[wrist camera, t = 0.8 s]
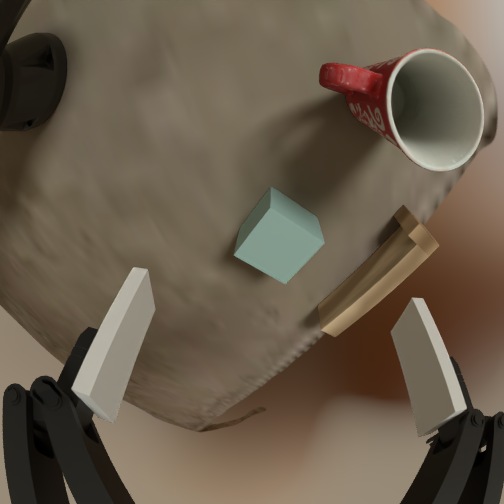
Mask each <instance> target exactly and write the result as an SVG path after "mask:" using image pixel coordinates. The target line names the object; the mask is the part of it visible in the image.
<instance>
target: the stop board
mask: <svg viewBox="0 0 504 504" xmlns="http://www.w3.org/2000/svg"><path fill="white" fill-rule="evenodd" d="M394 217H395V218H396V220H397V221H398V222H399V224H400V225H401V226H400V227H399V228H398V229H397V230H396V231H395V232H394V233H393V234H392V235H391V236H390V237H389V238H388V239H387V240H386V241H385V242H384V243H383V244H382V245H381V246H380V247H379V248H378V249H377V250H376V251H375V252H374V253H373V254H372V255H371V256H370V257H369V258H368V259H367V260H366V261H365V262H364V263H363V264H362V265H361V266H360V267H359V268H358V269H357V270H356V271H355V272H354V273H353V274H352V275H351V276H350V277H349V278H347V279H346V280H345V281H344V282H343V283H342V284H341V285H340V286H339V287H338V288H337V289H336V290H334V291H333V292H332V293H331V294H330V295H329V296H328V297H327V298H326V299H324V300H323V301H322V302H321V303H320V304H319V305H318V313H319V320H320V328H321V330H322V331H324V332H326V333H328V334H330V335H332V336H334V337H336V336H337V335H338V334H340V333H341V332H342V331H344V330H345V329H346V328H347V327H349V326H350V325H351V324H353V323H354V322H355V321H356V320H358V319H359V318H360V317H361V316H363V315H364V314H365V313H366V312H368V311H369V310H370V309H371V308H372V307H374V306H375V305H376V304H377V303H378V302H380V300H382V299H383V298H384V297H385V296H387V295H388V294H389V293H390V292H391V291H392V290H393V289H395V287H397V286H398V285H399V284H400V283H401V282H402V281H403V280H404V279H406V278H407V277H408V276H409V275H410V274H411V273H412V272H413V271H414V270H415V269H416V268H417V267H418V266H419V265H420V264H421V263H422V262H423V261H424V260H425V259H426V258H427V257H429V255H431V253H432V252H433V251H434V250H435V249H436V248H437V247H438V246H439V244H438V243H437V242H436V241H435V239H434V238H433V237H432V235H431V234H430V233H429V232H428V231H427V229H426V228H425V227H424V226H423V225H422V224H421V222H420V221H419V220H418V219H417V218H416V217H415V216H414V215H413V214H412V213H411V212H410V211H409V210H408V209H407V208H406V207H405V206H404V205H403V206H402V207H401V208H400V209H399V210H398V211H397V212H396V213H395V215H394Z"/></svg>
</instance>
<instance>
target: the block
mask: <svg viewBox="0 0 504 504" xmlns="http://www.w3.org/2000/svg"><path fill="white" fill-rule="evenodd" d="M324 243H325V242H324V239H323V235H322V232H321V228H320V225H319V221H318V218H317V217H316V216H315V215H313V214H312V213H310V212H309V211H307V210H306V209H304V208H303V207H302V206H300V205H299V204H297V203H296V202H294V201H293V200H291V199H290V198H288V197H287V196H285V195H284V194H282V193H281V192H279V191H278V190H276V189H275V188H273V187H270V188H269V190H268V191H267V192H266V194H265V195H264V196H263V198H262V199H261V200H260V202H259V203H258V204H257V206H256V207H255V208H254V210H253V211H252V212H251V214H250V215H249V217H248V218H247V219H246V221H245V222H244V223H243V225H242V226H241V227H240V229H239V233H238V238H237V242H236V247H235V251H234V256H236V257H237V258H239V259H241V260H243V261H244V262H246V263H248V264H250V265H252V266H253V267H255V268H257V269H259V270H261V271H262V272H264V273H266V274H268V275H269V276H271V277H273V278H275V279H277V280H278V281H280V282H282V283H284V284H286V283H287V282H288V281H289V280H290V279H291V278H292V277H293V276H294V275H295V274H296V272H297V271H298V270H299V269H300V268H301V267H302V266H303V265H304V264H305V263H306V262H307V261H308V260H309V259H310V258H311V257H312V256H313V255H314V254H315V253H316V252H317V251H318V250H319V248H320V247H321V246H322V245H323V244H324Z"/></svg>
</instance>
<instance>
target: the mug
mask: <svg viewBox="0 0 504 504" xmlns="http://www.w3.org/2000/svg"><path fill="white" fill-rule="evenodd" d="M319 83H320V85H321V86H323V87H325V88H327V89H330V90H333V91H336V92H339V93H343V94H346V101H347V104H348V107H349V109H350V111H351V112H352V114H353V115H354V116H355V117H356V118H357V119H358V120H359V121H360V122H362V123H363V124H364V125H366V126H367V127H369V128H371V129H372V130H374V131H375V132H377V133H378V134H380V135H381V136H383V137H384V138H386V139H387V140H388V141H390V142H391V143H393V144H394V145H395V146H397V147H398V148H400V149H401V150H402V152H403V153H404V154H405V155H406V156H407V157H408V158H409V159H410V160H411V161H413V162H414V163H415V164H417V165H418V166H420V167H422V168H424V169H427V170H430V171H436V172H444V171H450V170H453V169H456V168H458V167H459V166H461V165H462V164H464V163H465V162H466V161H467V160H468V159H469V158H470V157H471V156H472V154H473V153H474V151H475V150H476V148H477V146H478V144H479V142H480V139H481V136H482V132H483V125H484V109H483V103H482V98H481V95H480V92H479V89H478V87H477V85H476V83H475V81H474V79H473V77H472V76H471V74H470V73H469V71H468V70H467V69H466V68H465V67H464V66H463V65H462V64H461V63H460V62H459V61H458V60H457V59H455V58H454V57H453V56H451V55H449V54H447V53H445V52H443V51H441V50H437V49H433V48H421V49H416V50H413V51H411V52H409V53H407V54H406V55H404V56H401V57H397V58H394V59H390V60H387V61H384V62H380V63H377V64H374V65H371V66H367V67H364V68H360V67H356V66H351V65H346V64H338V63H326V64H323V65H322V67H321V69H320V74H319Z"/></svg>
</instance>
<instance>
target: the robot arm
mask: <svg viewBox="0 0 504 504" xmlns="http://www.w3.org/2000/svg"><path fill="white" fill-rule="evenodd" d="M30 2H31V0H0V131H26V130H29V129H32V128H34V127H37V126H39V125H41V124H42V123H44V122H45V121H46V120H47V119H48V118H49V117H50V116H51V114H52V113H53V111H54V110H55V108H56V106H57V105H58V102H59V100H60V98H61V95H62V92H63V89H64V85H65V80H66V73H67V59H66V53H65V49H64V46H63V44H62V42H61V41H60V39H59V38H58V37H56V36H55V35H53V34H51V33H33V34H29V35H27V36H24V37H22V38H20V39H18V40H15V41H13V42H11V43H9V44H7V42H8V40H9V38H10V36H11V34H12V33H13V31H14V29H15V27H16V25H17V23H18V21H19V20H20V18H21V16H22V14H23V13H24V11H25V9H26V8H27V6H28V5H29V3H30ZM154 312H155V305H154V300H153V295H152V290H151V284H150V279H149V273H148V269H142V268H136V267H133V269H132V270H131V272H130V274H129V275H128V277H127V279H126V281H125V282H124V284H123V286H122V288H121V289H120V291H119V293H118V295H117V296H116V298H115V300H114V302H113V304H112V306H111V307H110V309H109V311H108V313H107V315H106V317H105V319H104V321H103V322H102V324H101V326H100V328H99V330H98V329H94V328H91V327H88V328H87V329H86V330H85V331H84V332H83V333H82V334H81V335H80V336H79V338H78V340H77V342H76V344H75V347H74V348H73V350H72V352H71V355H70V356H69V358H68V360H67V362H66V364H65V366H64V368H63V370H62V372H61V374H60V377H59V379H58V381H57V382H56V381H55V380H54V379H53V378H52V377H49V376H40V377H39V378H37V379H35V381H34V382H33V383H32V385H31V388H30V391H28V390H25V389H24V388H23V387H22V386H21V385H19V384H11V385H10V386H8V387H7V389H6V390H5V392H4V396H3V448H4V459H5V469H6V476H7V482H8V489H9V494H10V499H11V503H12V504H70V503H69V500H68V496H67V492H66V487H65V483H64V478H63V475H64V477H65V479H66V482H67V484H68V486H69V488H70V491H71V493H72V495H73V497H74V499H75V501H76V503H77V504H135V502H134V501H133V499H132V498H131V496H130V494H129V493H128V491H127V489H126V488H125V486H124V484H123V482H122V481H121V479H120V477H119V475H118V473H117V471H116V470H115V468H114V466H113V464H112V462H111V460H110V458H109V456H108V454H107V452H106V449H105V447H104V445H103V443H102V441H101V439H100V436H99V434H98V432H97V429H96V427H95V424H94V422H93V420H92V417H93V414H95V415H96V416H97V417H98V418H101V419H103V420H106V421H109V422H112V423H115V420H116V417H117V414H118V411H119V407H120V404H121V401H122V399H123V396H124V393H125V390H126V387H127V384H128V381H129V378H130V375H131V372H132V369H133V367H134V364H135V361H136V358H137V356H138V353H139V350H140V348H141V345H142V342H143V340H144V337H145V334H146V332H147V329H148V327H149V324H150V322H151V319H152V317H153V314H154ZM391 335H392V338H393V341H394V344H395V347H396V350H397V354H398V357H399V360H400V364H401V367H402V371H403V374H404V378H405V381H406V385H407V389H408V393H409V397H410V401H411V405H412V409H413V414H414V418H415V423H416V428H417V433H418V437H421V436H425V435H428V434H431V433H432V432H434V431H436V430H437V429H438V431H439V433H437V434H436V435H434V436H433V437H431V438H430V439H428V440H427V442H426V443H429V442H431V441H433V442H432V443H430V446H431V447H430V449H429V451H428V454H427V456H426V458H425V460H424V462H423V464H422V466H421V468H420V470H419V472H418V474H417V475H416V477H415V479H414V481H413V483H412V485H411V486H410V488H409V490H408V491H407V493H406V495H405V496H404V498H403V500H402V501H401V503H400V504H499V503H500V499H501V494H502V488H503V483H504V413H503V412H498V413H497V414H496V415H494V416H493V417H491V416H484V415H483V413H482V412H481V411H480V410H478V409H474V408H473V406H472V403H471V400H470V397H469V394H468V390H467V388H466V385H465V382H464V379H463V377H462V375H461V371H460V368H459V366H458V364H457V362H456V361H455V360H454V358H453V357H449V355H448V353H447V350H446V348H445V346H444V343H443V341H442V338H441V336H440V334H439V332H438V329H437V327H436V325H435V323H434V320H433V318H432V316H431V314H430V312H429V310H428V308H427V306H426V304H425V302H424V300H423V299H422V298H412V299H411V301H410V302H409V304H408V306H407V307H406V309H405V311H404V312H403V314H402V316H401V317H400V318H399V320H398V322H397V323H396V325H395V326H394V328H393V329H392V331H391ZM485 445H486V450H485V451H483V452H481V448H482V447H484V446H485Z"/></svg>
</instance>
